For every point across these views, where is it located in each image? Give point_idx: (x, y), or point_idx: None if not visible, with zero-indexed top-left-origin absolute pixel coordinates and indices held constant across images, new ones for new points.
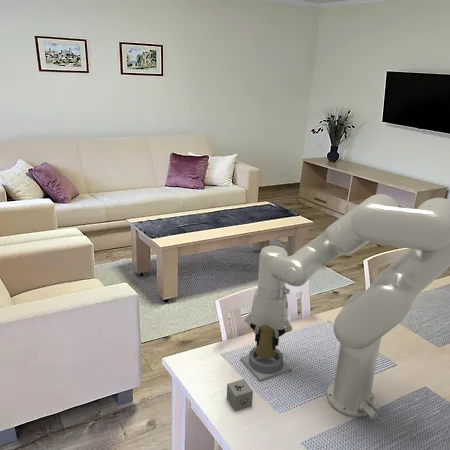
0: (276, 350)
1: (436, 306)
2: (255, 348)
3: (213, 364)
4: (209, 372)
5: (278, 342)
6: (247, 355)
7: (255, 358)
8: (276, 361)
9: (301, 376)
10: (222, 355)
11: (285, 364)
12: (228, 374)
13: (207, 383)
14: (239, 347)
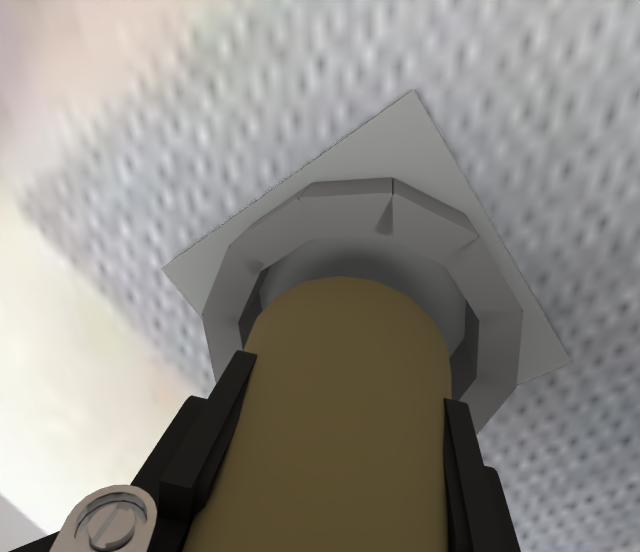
0: (463, 264)
1: None
2: (247, 254)
3: (24, 320)
4: (33, 387)
5: (496, 487)
6: (208, 239)
7: (276, 270)
8: (451, 291)
9: (631, 391)
10: (40, 222)
11: (527, 321)
12: (137, 396)
13: (58, 460)
14: (127, 91)
